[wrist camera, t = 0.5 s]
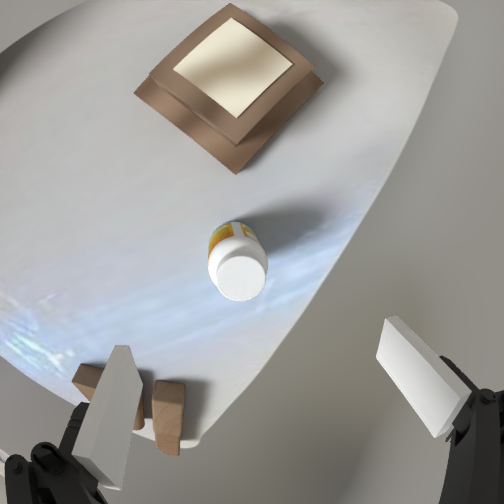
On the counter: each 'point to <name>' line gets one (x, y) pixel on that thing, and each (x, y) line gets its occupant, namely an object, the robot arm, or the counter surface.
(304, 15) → the counter surface
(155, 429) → the wooden block set
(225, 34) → the plinth
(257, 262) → the supplement bottle
